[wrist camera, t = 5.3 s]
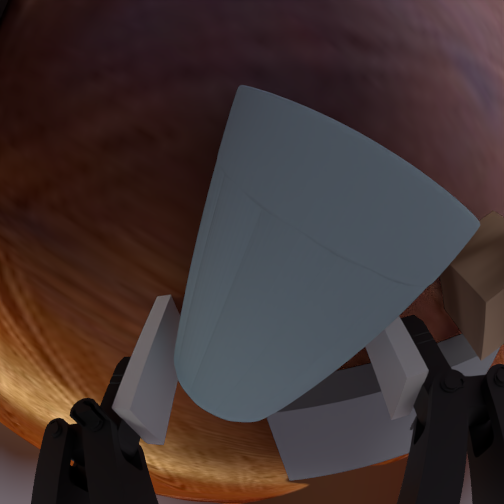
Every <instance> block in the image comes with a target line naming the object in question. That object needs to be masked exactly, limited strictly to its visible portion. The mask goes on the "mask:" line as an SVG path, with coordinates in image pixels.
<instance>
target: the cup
mask: <svg viewBox="0 0 504 504" xmlns="http://www.w3.org/2000/svg"><path fill="white" fill-rule="evenodd" d="M479 227H480V222H479V220H478V219H477V218H476V217H475V216H474V215H473V214H472V213H471V212H470V211H469V210H468V209H467V208H466V207H465V206H464V205H463V204H462V203H460V202H459V201H458V200H457V199H456V198H455V197H453V196H452V195H451V194H450V193H449V192H448V191H446V190H445V189H444V188H443V187H441V186H440V185H439V184H437V183H436V182H435V181H433V180H432V179H431V178H429V177H428V176H427V175H425V174H424V173H423V172H421V171H420V170H418V169H417V168H416V167H414V166H413V165H411V164H410V163H408V162H407V161H405V160H404V159H402V158H401V157H399V156H398V155H396V154H395V153H393V152H391V151H390V150H388V149H387V148H385V147H383V146H382V145H380V144H378V143H377V142H375V141H373V140H372V139H370V138H368V137H366V136H365V135H363V134H361V133H359V132H357V131H355V130H354V129H352V128H350V127H348V126H346V125H344V124H342V123H340V122H338V121H336V120H334V119H332V118H330V117H328V116H326V115H324V114H322V113H320V112H317V111H315V110H313V109H310V108H308V107H306V106H303V105H301V104H299V103H296V102H294V101H291V100H289V99H286V98H284V97H281V96H278V95H276V94H273V93H270V92H267V91H264V90H261V89H257V88H254V87H250V86H246V85H240V86H239V87H238V89H237V91H236V95H235V98H234V101H233V104H232V107H231V111H230V114H229V117H228V121H227V124H226V127H225V131H224V134H223V138H222V141H221V145H220V148H219V152H218V156H217V161H216V165H215V169H214V172H213V176H212V180H211V184H210V187H209V191H208V195H207V199H206V203H205V207H204V211H203V215H202V219H201V223H200V227H199V232H198V236H197V240H196V244H195V249H194V253H193V258H192V262H191V267H190V272H189V276H188V281H187V286H186V291H185V296H184V301H183V306H182V311H181V316H180V322H179V327H178V333H177V339H176V344H175V351H174V365H175V370H176V374H177V378H178V380H179V383H180V385H181V386H182V388H183V389H184V390H185V392H186V393H187V394H188V395H189V397H190V398H191V399H192V400H193V401H194V402H195V403H196V404H197V405H198V406H199V407H201V408H202V409H204V410H205V411H207V412H209V413H211V414H213V415H215V416H217V417H219V418H222V419H225V420H228V421H236V422H255V421H260V420H262V419H264V418H266V417H268V416H270V415H272V414H274V413H276V412H277V411H279V410H281V409H282V408H284V407H285V406H287V405H288V404H290V403H291V402H293V401H294V400H296V399H297V398H299V397H300V396H302V395H303V394H304V393H306V392H307V391H309V390H310V389H312V388H313V387H314V386H316V385H317V384H318V383H320V382H321V381H322V380H324V379H325V378H326V377H328V376H329V375H330V374H332V373H333V372H334V371H336V370H337V369H338V368H339V367H341V366H342V365H343V364H344V363H346V362H347V361H348V360H349V359H351V358H352V357H353V356H354V355H356V354H357V353H358V352H359V351H360V350H361V349H363V348H364V347H365V346H366V345H367V344H368V343H370V342H371V341H372V340H373V339H374V338H375V337H376V336H378V335H379V334H380V333H381V332H382V331H383V330H384V329H385V328H386V327H387V326H389V325H390V324H391V323H392V322H393V321H394V320H395V319H396V318H397V317H398V316H399V315H400V314H401V313H402V312H403V311H404V310H405V309H406V308H407V307H408V306H409V305H410V304H411V303H412V302H413V301H414V300H415V299H416V298H417V297H418V296H419V295H420V294H421V293H422V292H423V291H424V290H425V289H426V288H427V287H428V286H429V285H430V284H432V283H433V282H434V281H435V280H436V279H437V278H438V277H439V276H440V275H441V273H442V272H443V271H444V270H445V269H446V268H447V267H448V266H449V264H450V263H451V262H452V261H453V260H454V259H455V257H456V256H457V255H458V254H459V253H460V251H461V250H462V249H463V248H464V246H465V245H466V244H467V243H468V241H469V240H470V239H471V238H472V236H473V235H474V234H475V232H476V231H477V230H478V228H479Z"/></svg>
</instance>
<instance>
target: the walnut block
mask: <svg viewBox="0 0 504 504" xmlns="http://www.w3.org/2000/svg"><path fill="white" fill-rule="evenodd" d="M479 222H480V227H479V228H478V230H477V231H476V232H475V234H474V235H473V236H472V238H471V239H470V240H469V241H468V243H467V244H466V245H465V246H464V248H463V249H462V250H461V251H460V253H459V254H458V255H457V256H456V257H455V259H454V260H453V261H452V262H451V263H450V264H449V266H448V267H447V268H446V269H445V270H444V271H443V272H442V273H441V275H440V281H441V287H442V294H443V301H444V309H445V310H446V312H447V313H448V314H449V316H450V317H451V318H452V320H453V321H454V322H455V324H456V325H457V327H458V328H459V329H460V331H461V332H462V334H463V335H464V336H465V338H466V339H467V341H468V342H469V344H470V345H471V347H472V348H473V350H474V351H475V353H476V354H477V356H478V357H479V359H480V360H481V361H482V360H483V359H485V358H486V357H487V356H489V355H490V354H491V353H493V352H494V351H495V350H497V349H498V348H499V347H500V346H502V345H503V344H504V217H503V216H501V215H499V214H498V213H496V212H495V211H492V212H491V213H490V214H488V215H487V216H485V217H484V218H482V219H481V220H480V221H479Z"/></svg>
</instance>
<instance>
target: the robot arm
mask: <svg viewBox="0 0 504 504" xmlns="http://www.w3.org/2000/svg"><path fill="white" fill-rule="evenodd" d="M7 2H8V0H0V18H1V16H2V14H3V11H4V9H5V7H6V4H7ZM179 322H180V315H179V312H178V310H177V308H176V305H175V303H174V301H173V298H172V296H171V295H164V296H157V298H156V300H155V303H154V305H153V307H152V309H151V311H150V314H149V316H148V318H147V321H146V323H145V325H144V327H143V330H142V332H141V334H140V337H139V339H138V342H137V344H136V346H135V349H134V351H133V354H132V356H131V357H124V358H123V359H122V360H121V361H120V362H119V363H118V365H117V366H116V368H115V371H114V373H113V376H112V378H111V380H110V384H109V385H108V388H107V390H106V392H105V395H104V397H103V400H102V403H101V405H100V406H99V405H98V404H97V403H96V402H95V401H94V400H93V399H91V398H84V399H81V400H79V401H78V402H77V403H75V404H74V405H73V407H72V409H71V411H70V417H71V418H73V419H74V420H75V421H76V422H77V424H71V425H69V424H68V423H67V422H66V421H65V420H64V419H61V418H56V419H54V420H52V421H50V423H49V424H48V425H47V427H46V429H45V432H44V436H43V440H42V445H41V449H40V454H39V458H38V464H37V468H36V474H35V480H34V486H33V493H32V501H31V504H158V501H157V498H156V495H155V492H154V488H153V485H152V482H151V478H150V475H149V471H148V468H147V464H146V460H145V456H144V452H143V449H142V447H141V446H140V445H139V441H140V437H141V438H142V439H143V440H144V441H145V442H146V443H147V444H157V445H164V441H165V437H166V432H167V427H168V422H169V417H170V413H171V408H172V404H173V399H174V395H175V390H176V386H177V382H178V378H177V374H176V370H175V365H174V351H175V344H176V339H177V333H178V327H179ZM365 347H366V350H367V353H368V355H369V358H370V361H371V363H372V366H373V369H374V371H375V374H376V377H377V379H378V382H379V385H380V388H381V391H382V394H383V396H384V399H385V402H386V405H387V408H388V411H389V414H390V417H391V420H394V419H397V418H400V417H403V416H406V415H409V414H410V413H411V411H412V409H413V407H414V409H415V412H416V414H417V415H416V417H415V419H414V421H413V423H412V425H411V427H410V430H413V434H412V440H411V446H410V451H409V456H408V461H407V466H406V470H405V475H404V479H403V483H402V487H401V490H400V494H399V498H398V502H397V504H459V503H460V498H461V493H462V487H463V481H464V473H465V464H466V454H468V460H469V468H470V477H471V487H472V501H473V504H504V365H503V364H496V365H494V366H492V367H491V368H490V369H489V370H488V372H487V374H486V375H477V376H464V375H463V374H462V373H461V372H459V371H458V370H454V369H452V368H451V367H450V365H449V364H448V362H447V360H446V358H445V357H444V355H443V353H442V352H441V350H440V348H439V346H438V345H437V343H436V341H435V340H433V337H432V335H431V333H429V330H428V329H427V327H426V325H425V324H424V322H423V321H422V320H420V319H419V318H417V317H416V316H415V315H411V316H407V317H404V318H400V317H399V316H398V317H397V318H396V319H395V320H394V321H393V322H392V323H391V324H390V325H389V326H387V327H386V328H385V329H384V330H383V331H382V332H381V333H380V334H379V335H378V336H376V337H375V338H374V339H373V340H372V341H371V342H370V343H368V344H367V345H366V346H365ZM71 460H73V461H74V464H73V466H71V465H70V462H71Z"/></svg>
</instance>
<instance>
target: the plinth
mask: <svg viewBox="0 0 504 504" xmlns="http://www.w3.org/2000/svg"><path fill="white" fill-rule="evenodd" d="M437 345H438V346H439V348H440V350H441V352H442V353H443V355H444V357H445V358H446V360H447V362H448V364H449V365H450V367H451V368H452V369H454V370H458V371H459V372H461V373H462V374H463V375H464V376H477V375H486V373H487V371H488V369H489V368H490V366H491V364H492V362H493V360H494V358H495V356H496V354H497V352H498V350H499V348H500V347H499V348H498V349H497V350H495V351H494V352H493V353H491V354H490V355H489V356H487V357H486V358H485V359H483V360H482V361H481V360H480V359H479V357H478V356H477V354H476V353H475V351H474V350H473V348H472V347H471V345H470V344H469V342H468V341H467V339H466V338H465V336H464V335H463V334H460V335H458V336H455V337H452V338H450V339H447V340H444V341H441V342H439V343H437ZM416 415H417V414H416V412H415V409H414V407H413V409H412V411H411V413H410V414H409V415H406V416H403V417H400V418H397V419H394V420H391V417H390V414H389V411H388V408H387V405H386V402H385V399H384V396H383V394H382V391H381V388H380V385H379V382H378V379H377V377H376V374H375V371H374V369H373V366H372V363H369V364H365V365H361V366H357V367H353V368H348V369H344V370H339V371H334V372H333V373H332V374H330V375H329V376H328V377H326V378H325V379H324V380H322V381H321V382H320V383H318V384H317V385H316V386H314V387H313V388H312V389H310V390H309V391H307V392H306V393H304V394H303V395H302V396H300V397H299V398H297V399H296V400H294V401H293V402H291V403H290V404H288V405H287V406H285V407H284V408H282V409H281V410H279V411H277V412H276V413H274V414H272V415H270V416H268V417H267V420H268V423H269V425H270V428H271V431H272V434H273V437H274V439H275V442H276V445H277V448H278V450H279V453H280V456H281V459H282V461H283V464H284V467H285V469H286V472H287V475H288V477H289V480H290V481H291V480H298V479H306V478H313V477H318V476H324V475H329V474H335V473H339V472H344V471H348V470H353V469H357V468H361V467H365V466H369V465H372V464H376V463H379V462H383V461H386V460H389V459H392V458H395V457H398V456H401V455H404V454H407V453H409V451H410V446H411V440H412V434H413V430H410V427H411V425H412V423H413V421H414V419H415V417H416Z"/></svg>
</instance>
